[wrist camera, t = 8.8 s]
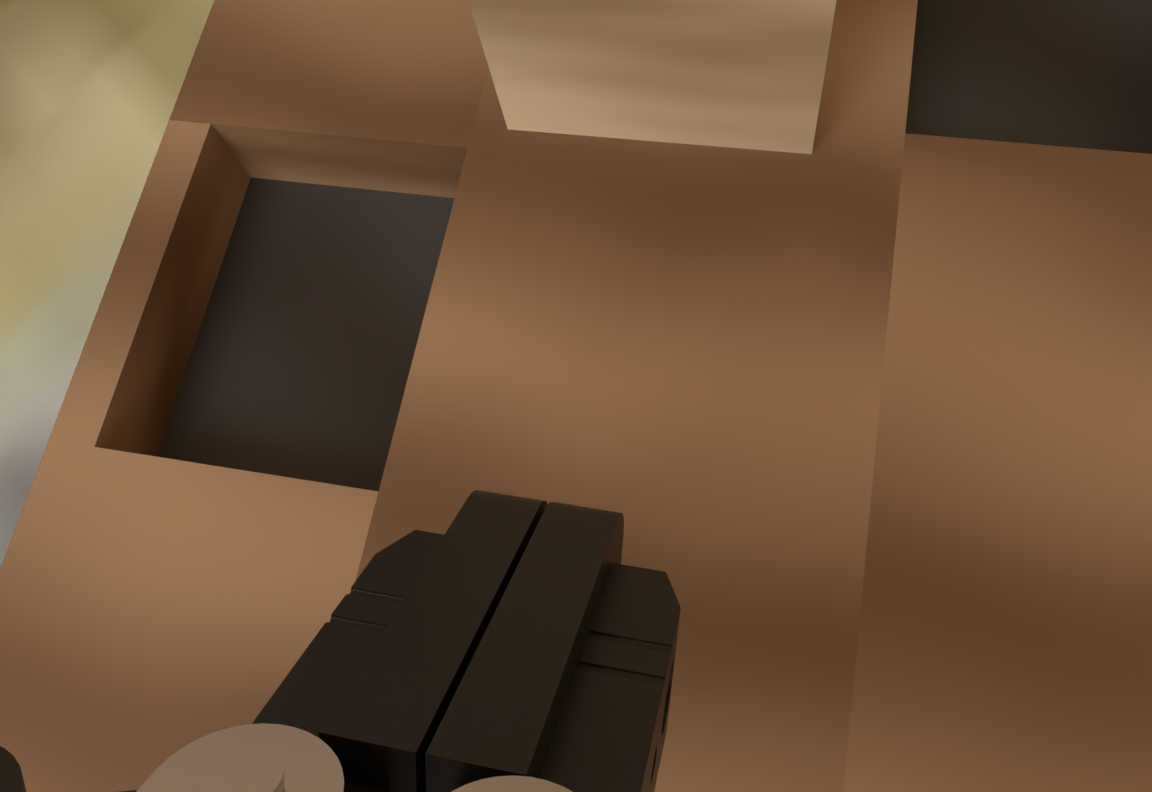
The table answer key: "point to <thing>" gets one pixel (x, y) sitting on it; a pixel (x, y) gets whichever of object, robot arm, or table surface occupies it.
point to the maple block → (661, 68)
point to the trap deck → (630, 395)
